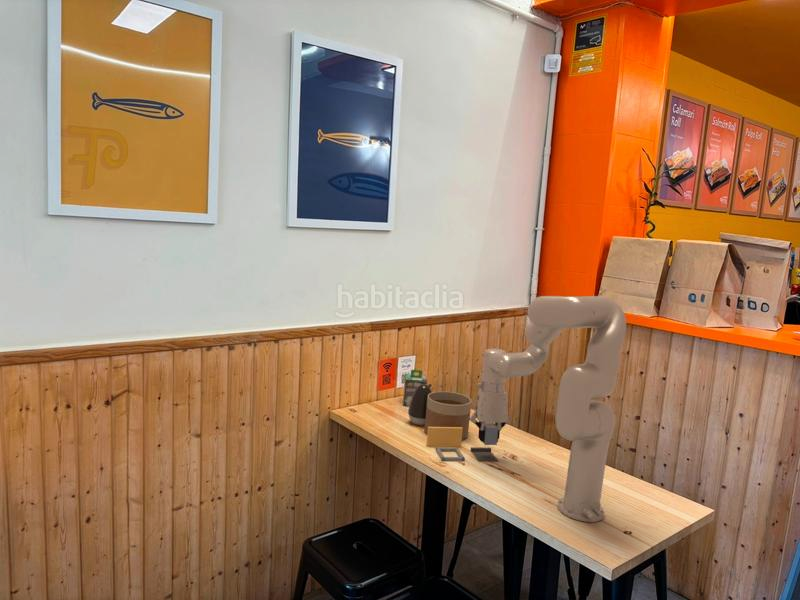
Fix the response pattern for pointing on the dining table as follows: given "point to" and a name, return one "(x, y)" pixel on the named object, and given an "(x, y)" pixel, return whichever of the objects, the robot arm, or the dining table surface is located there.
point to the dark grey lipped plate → (483, 454)
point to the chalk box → (412, 385)
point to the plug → (490, 433)
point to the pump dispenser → (419, 404)
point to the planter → (448, 411)
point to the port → (445, 441)
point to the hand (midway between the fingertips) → (488, 440)
